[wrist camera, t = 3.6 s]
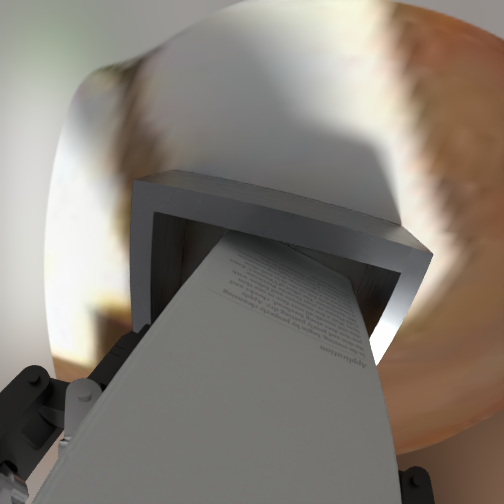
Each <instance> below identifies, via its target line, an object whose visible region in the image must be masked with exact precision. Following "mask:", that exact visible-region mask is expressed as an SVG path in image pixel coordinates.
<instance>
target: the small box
mask: <svg viewBox="0 0 504 504" xmlns="http://www.w3.org/2000/svg"><path fill="white" fill-rule="evenodd" d="M31 504H402V502H401V492H400V483H399V475H398V467H397V462H396V456H395V449H394V444H393V438H392V432H391V427H390V422H389V417H388V412H387V407H386V403H385V399H384V394H383V390H382V386H381V382H380V378H379V373H378V369H377V366H376V362H375V358H374V354H373V351H372V347H371V344H370V340H369V337H368V333H367V330H366V327H365V323H364V320H363V317H362V314H361V311H360V308H359V305H358V302H357V299H356V296H355V293H354V290H353V287H352V284H351V281H350V279H349V278H347V277H346V276H344V275H342V274H340V273H338V272H336V271H334V270H332V269H331V268H329V267H327V266H325V265H323V264H321V263H319V262H317V261H315V260H313V259H311V258H309V257H307V256H305V255H303V254H301V253H299V252H297V251H295V250H293V249H292V248H290V247H288V246H286V245H284V244H282V243H280V242H278V241H276V240H273V239H269V238H265V237H261V236H257V235H253V234H249V233H245V232H241V231H237V230H232V229H228V230H227V231H226V233H225V234H224V235H223V236H222V238H221V239H220V240H219V241H218V243H217V244H216V245H215V246H214V248H213V249H212V250H211V251H210V253H209V254H208V255H207V256H206V258H205V259H204V260H203V261H202V263H201V264H200V265H199V266H198V268H197V269H196V270H195V271H194V272H193V274H192V275H191V276H190V277H189V278H188V280H187V281H186V282H185V283H184V284H183V286H182V287H181V288H180V289H179V291H178V292H177V293H176V295H175V296H174V297H173V299H172V300H171V301H170V303H169V304H168V305H167V306H166V308H165V309H164V310H163V312H162V313H161V314H160V316H159V317H158V318H157V320H156V321H155V322H154V324H153V325H152V326H151V328H150V329H149V330H148V332H147V333H146V334H145V336H144V337H143V338H142V340H141V341H140V342H139V344H138V345H137V346H136V348H135V349H134V350H133V352H132V353H131V354H130V356H129V357H128V359H127V360H126V361H125V363H124V364H123V365H122V367H121V368H120V370H119V371H118V372H117V374H116V375H115V376H114V378H113V379H112V381H111V382H110V383H109V385H108V386H107V388H106V389H105V390H104V392H103V393H102V395H101V396H100V398H99V399H98V400H97V402H96V403H95V405H94V406H93V407H92V409H91V410H90V412H89V413H88V414H87V416H86V417H85V419H84V420H83V421H82V423H81V424H80V426H79V427H78V428H77V430H76V432H75V433H74V435H73V436H72V438H71V439H70V441H69V442H68V444H67V445H66V447H65V449H64V450H63V452H62V453H61V455H60V456H59V458H58V460H57V461H56V463H55V464H54V466H53V468H52V469H51V471H50V473H49V474H48V476H47V478H46V479H45V481H44V482H43V484H42V486H41V487H40V489H39V491H38V492H37V494H36V496H35V498H34V500H33V501H32V503H31Z"/></svg>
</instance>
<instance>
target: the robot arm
mask: <svg viewBox="0 0 504 504" xmlns="http://www.w3.org/2000/svg"><path fill="white" fill-rule="evenodd" d="M151 326H152V325H149V324H145V325H144V326H143V327H142V329H141V330H140V331H139V332H138V333H136V332H134V331H131V332H129V333H127V334H125V335H124V336H122V337H121V338H120V339H119V340H118V342H117V343H116V344H115V346H113V347H112V349H111V350H110V352H109V353H107V355H106V356H105V357H104V358H103V359H102V361H101V362H100V363H99V364H98V366H97V367H96V368H95V369H94V370H93V372H92V373H91V374H90V375H89V376H88V377H87V378H81V379H77V380H74V381H73V382H71V383H69V382H64V381H61V380H57V379H53V378H50V376H49V374H48V372H47V371H46V369H44V368H43V367H41V366H38V365H32V366H28V367H26V368H25V369H24V370H23V371H21V372H20V374H18V375H17V376H16V377H15V378H14V379H13V380H12V381H11V382H10V383H9V384H8V385H7V386H6V387H5V388H4V389H3V390H2V391H1V393H0V504H25V501H26V499H27V498H28V496H29V494H28V489H27V485H26V483H25V481H26V480H27V478H28V477H29V476H30V474H31V473H32V471H33V470H34V469H35V467H36V466H37V464H38V463H39V462H40V461H41V459H42V458H43V456H44V455H45V454H46V453H47V451H48V450H49V448H50V447H51V446H52V445H53V443H54V442H55V441H56V439H57V438H58V437H59V435H60V434H61V433H62V431H63V430H64V439H63V440H60V441H59V445H58V454H59V455H58V457H59V456H60V455H61V453H62V452H63V450H64V449H65V447H66V445H67V444H68V442H69V441H70V439H71V438H72V436H73V435H74V433H75V432H76V430H77V428H78V427H79V426H80V424H81V423H82V421H83V420H84V419H85V417H86V416H87V414H88V413H89V412H90V410H91V409H92V407H93V406H94V405H95V403H96V402H97V400H98V399H99V398H100V396H101V395H102V393H103V392H104V390H105V389H106V388H107V386H108V385H109V383H110V382H111V381H112V379H113V378H114V376H115V375H116V374H117V372H118V371H119V370H120V368H121V367H122V365H123V364H124V363H125V361H126V360H127V359H128V357H129V356H130V354H131V353H132V352H133V350H134V349H135V348H136V346H137V345H138V344H139V342H140V341H141V340H142V338H143V337H144V336H145V334H146V333H147V332H148V330H149V329H150V328H151ZM398 475H399V483H400V492H401V502H402V504H435V502H434V496H433V491H432V486H431V480H430V476H429V474H428V472H427V471H426V470H425V469H423V468H421V467H417V466H414V467H411V468H409V469H407V470H406V471H400V470H398Z"/></svg>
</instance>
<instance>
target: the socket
mask: <svg viewBox="0 0 504 504" xmlns="http://www.w3.org/2000/svg"><path fill="white" fill-rule="evenodd" d="M187 219H190V220H195V221H199V222H203V223H207V224H212V225H216V226H220V227H224V228H228V229H232V230H237V231H241V232H245V233H249V234H253V235H257V236H261V237H265V238H269V239H273V240H277V241H281V242H285V243H289V244H293V245H297V246H301V247H305V248H309V249H313V250H317V251H321V252H325V253H328V254H332V255H336V256H340V257H344V258H348V259H351V260H355V261H359V262H363V263H366V264H369V265H368V268H367V271H366V273H365V276H364V278H363V281H362V283H361V286H360V288H359V290H358V293H357V295H356V299H357V302H358V305H359V308H360V311H361V314H362V317H363V320H364V323H365V327H366V330H367V333H368V337H369V340H370V344H371V347H372V351H373V354H374V358H375V362H376V365H377V364H378V362H379V361H380V359H381V357H382V356H383V354H384V352H385V351H386V349H387V347H388V346H389V344H390V342H391V341H392V339H393V337H394V335H395V334H396V332H397V330H398V328H399V327H400V325H401V323H402V321H403V319H404V317H405V315H406V313H407V312H408V310H409V308H410V306H411V304H412V302H413V300H414V297H415V295H416V293H417V291H418V289H419V287H420V285H421V283H422V280H423V278H424V276H425V274H426V271H427V269H428V267H429V264H430V262H431V259H432V257H433V253H432V252H431V251H430V250H429V249H427V248H426V247H425V246H424V245H423V244H422V243H421V242H420V241H419V240H418V239H417V238H415V237H414V236H413V235H412V234H411V233H410V232H409V231H407V230H406V229H405V228H404V227H403V226H400V225H397V224H394V223H391V222H388V221H385V220H382V219H379V218H375V217H372V216H369V215H366V214H362V213H359V212H356V211H352V210H349V209H345V208H342V207H338V206H335V205H331V204H327V203H324V202H320V201H316V200H313V199H309V198H305V197H301V196H297V195H293V194H289V193H285V192H281V191H277V190H272V189H268V188H264V187H259V186H255V185H250V184H246V183H241V182H236V181H231V180H227V179H222V178H217V177H211V176H206V175H201V174H195V173H190V172H184V171H178V170H171V171H166V172H162V173H158V174H154V175H149V176H145V177H141V178H138V179H134V180H133V188H132V202H131V221H130V292H131V311H132V325H133V331H134V332H136V333H138V332H139V331H140V330H141V329H142V327H143V326H144V325H145V324H149V325H153V324H154V322H155V321H156V320H157V318H158V317H159V316H160V314H161V313H162V312H163V310H164V309H165V308H166V306H167V305H168V304H169V303H170V301H171V300H172V299H173V297H174V296H175V295H176V293H177V292H178V291H179V289H180V281H181V269H182V258H183V248H184V239H185V230H186V221H187Z"/></svg>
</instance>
